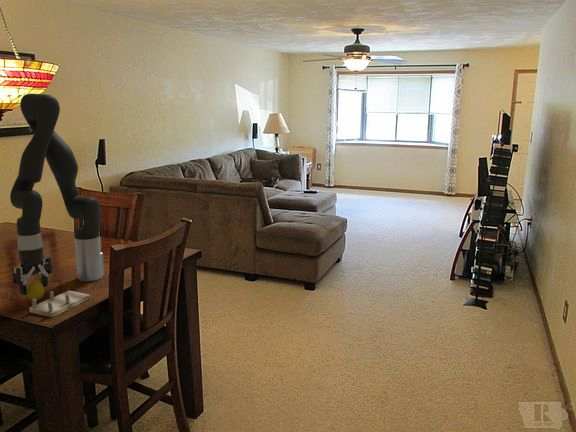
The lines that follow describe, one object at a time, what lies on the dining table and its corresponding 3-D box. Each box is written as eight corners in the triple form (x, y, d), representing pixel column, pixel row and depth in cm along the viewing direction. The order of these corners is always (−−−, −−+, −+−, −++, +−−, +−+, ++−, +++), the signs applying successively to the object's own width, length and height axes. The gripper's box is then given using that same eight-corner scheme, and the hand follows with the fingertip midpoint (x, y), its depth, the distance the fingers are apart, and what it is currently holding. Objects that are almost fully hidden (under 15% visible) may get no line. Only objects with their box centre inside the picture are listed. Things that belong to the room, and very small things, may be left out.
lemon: (24, 302, 168) (21, 280, 166) (39, 297, 173) (37, 276, 171) (32, 305, 165) (30, 284, 163) (48, 300, 170) (46, 279, 168)
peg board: (69, 294, 176) (68, 282, 174) (90, 298, 172) (89, 286, 171) (29, 312, 160) (28, 299, 159) (52, 317, 157) (50, 304, 156)
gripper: (39, 240, 172) (43, 282, 175) (3, 250, 159) (8, 296, 162) (55, 242, 169) (58, 285, 172) (20, 252, 156) (25, 299, 159)
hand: (34, 290), depth 167 cm, fingers open, 8 cm apart
